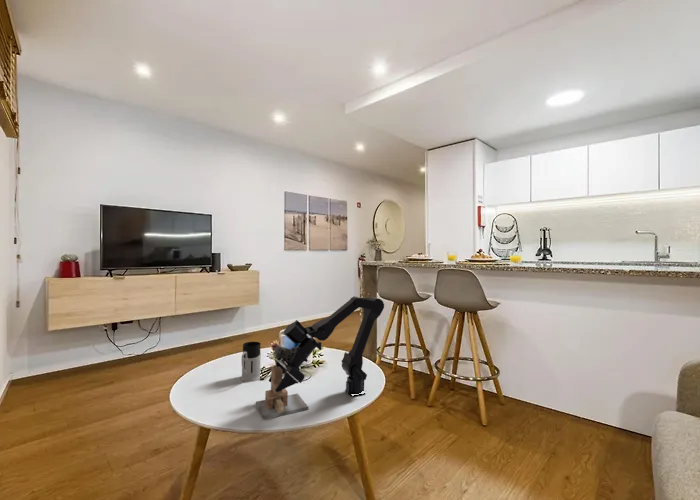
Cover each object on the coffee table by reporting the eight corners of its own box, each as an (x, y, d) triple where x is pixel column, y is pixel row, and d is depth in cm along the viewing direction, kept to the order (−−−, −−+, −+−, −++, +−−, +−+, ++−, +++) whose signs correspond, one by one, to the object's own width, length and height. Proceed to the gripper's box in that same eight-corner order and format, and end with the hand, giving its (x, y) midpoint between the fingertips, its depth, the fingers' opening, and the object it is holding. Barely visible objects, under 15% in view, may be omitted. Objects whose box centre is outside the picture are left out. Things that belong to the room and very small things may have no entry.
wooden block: (284, 400, 121) (284, 365, 121) (287, 405, 118) (288, 369, 118) (265, 404, 118) (265, 368, 118) (267, 409, 115) (268, 372, 115)
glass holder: (264, 374, 149) (264, 341, 149) (251, 387, 135) (252, 351, 135) (245, 373, 150) (246, 340, 150) (231, 386, 136) (232, 350, 136)
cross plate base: (297, 396, 128) (297, 385, 128) (308, 409, 117) (308, 398, 117) (255, 404, 120) (255, 393, 120) (263, 419, 110) (263, 407, 110)
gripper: (280, 332, 128) (251, 364, 123) (296, 344, 112) (262, 382, 106) (299, 349, 132) (272, 381, 127) (317, 364, 115) (286, 402, 110)
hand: (272, 386), depth 117 cm, fingers open, 9 cm apart
